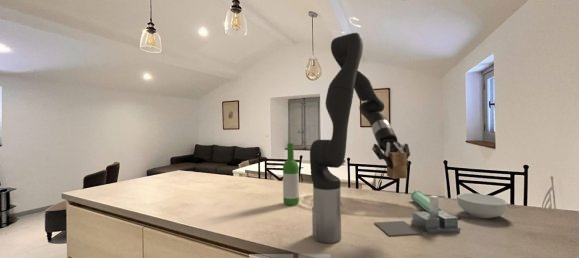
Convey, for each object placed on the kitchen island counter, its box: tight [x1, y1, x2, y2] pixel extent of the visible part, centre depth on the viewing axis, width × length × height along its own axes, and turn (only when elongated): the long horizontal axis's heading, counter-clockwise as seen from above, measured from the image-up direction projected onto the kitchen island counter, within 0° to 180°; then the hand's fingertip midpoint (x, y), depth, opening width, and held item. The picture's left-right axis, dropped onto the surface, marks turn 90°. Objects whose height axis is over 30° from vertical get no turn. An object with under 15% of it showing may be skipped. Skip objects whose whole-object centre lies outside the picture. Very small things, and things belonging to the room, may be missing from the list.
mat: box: [374, 220, 423, 237], centre depth 94 cm, size 12×12×1 cm
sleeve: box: [386, 152, 408, 179], centre depth 94 cm, size 5×5×9 cm
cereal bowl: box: [456, 192, 509, 219], centre depth 107 cm, size 17×17×7 cm
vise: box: [410, 195, 462, 235], centre depth 95 cm, size 16×10×12 cm, turn 96°
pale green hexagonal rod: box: [410, 190, 444, 214], centre depth 116 cm, size 6×6×25 cm
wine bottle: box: [282, 142, 300, 206], centre depth 127 cm, size 8×8×30 cm
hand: (399, 167), depth 92 cm, fingers closed on sleeve, 5 cm apart
